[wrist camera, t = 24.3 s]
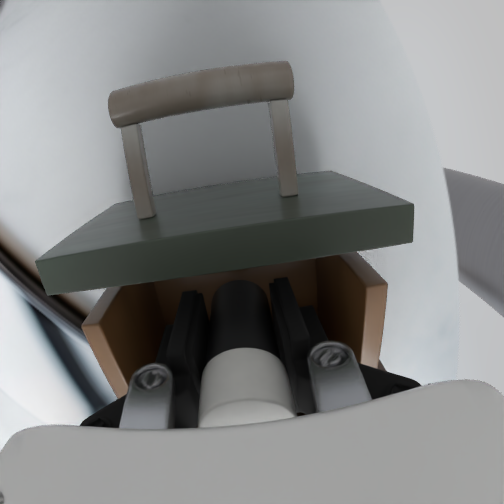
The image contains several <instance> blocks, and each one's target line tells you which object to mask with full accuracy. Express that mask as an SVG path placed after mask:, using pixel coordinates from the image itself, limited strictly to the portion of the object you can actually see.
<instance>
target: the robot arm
mask: <svg viewBox="0 0 504 504" xmlns="http://www.w3.org/2000/svg"><path fill="white" fill-rule="evenodd" d="M269 291H270V299H271V308H272V316H273V325H274V330H275V335H276V339H277V344H278V348H279V353H280V357H281V361H282V363H283V364H284V365H285V367H286V372H287V374H288V378H289V382H290V386H291V391H292V395H293V399H294V404H295V408H296V412H297V413H299V412H302V413H304V414H306V415H303V416H298V417H292V418H286V419H279V420H273V421H266V422H258V423H250V424H241V425H231V426H219V427H205V428H196V427H197V426H198V413H199V400H200V388H201V377H202V372H203V370H204V368H205V366H206V357H207V345H208V334H209V319H208V314H207V310H206V306H205V302H204V297H203V294H202V293H198V292H197V290H192V291H184V292H182V295H181V299H180V302H179V306H178V310H177V313H176V317H175V321H174V324H171V325H166V327H165V330H164V333H163V337H162V340H161V344H160V347H159V350H158V354H157V357H156V361H155V363H151V364H147V365H144V366H142V367H140V368H139V369H137V370H136V371H135V372H134V373H133V374H132V377H131V379H130V383H129V387H128V391H127V394H125V395H124V396H122V397H121V398H119V399H117V400H116V401H114V402H112V403H111V404H109V405H108V406H106V407H104V408H103V409H101V410H99V411H98V412H96V413H94V414H93V415H91V416H89V417H88V418H87V419H85V420H84V421H83V422H82V423H81V425H80V426H74V425H41V426H36V427H31V428H27V429H24V430H21V431H19V432H17V433H15V434H14V435H13V436H12V437H11V438H10V439H9V440H8V441H7V443H6V444H5V446H4V447H3V449H2V450H1V452H0V504H504V396H503V395H502V394H501V393H500V392H499V391H498V390H497V389H495V388H494V387H493V386H491V385H489V384H488V383H485V382H482V381H478V380H467V379H465V380H449V381H443V382H437V383H432V384H428V385H424V386H421V385H420V384H419V383H418V382H417V381H415V380H412V379H410V378H406V377H403V376H400V375H396V374H393V373H390V372H386V371H383V370H380V369H377V368H373V367H370V366H367V365H364V364H361V363H358V362H357V360H356V358H355V356H354V353H353V351H352V349H351V348H350V347H349V346H348V345H347V344H345V343H342V342H340V341H333V340H332V341H329V340H328V338H327V336H326V333H325V331H324V329H323V327H322V324H321V322H320V320H319V318H318V316H317V313H316V311H315V309H314V307H313V305H309V306H303V307H299V306H298V303H297V301H296V298H295V295H294V293H293V290H292V288H291V285H290V282H289V280H288V277H284V278H277V279H274V283H269Z"/></svg>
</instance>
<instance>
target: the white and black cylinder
mask: <svg viewBox="0 0 504 504" xmlns="http://www.w3.org/2000/svg"><path fill="white" fill-rule="evenodd" d="M292 417H297V412H296V408H295V404H294V399H293V395H292V391H291V386H290V382H289V378H288V374H287V372H286V367H285V365H284V364H283V363H282V361H281V357H280V353H279V348H278V344H277V339H276V335H275V330H274V325H273V321H272V316H271V312H270V307H269V303H268V298H267V296H266V294H265V292H264V291H263V289H262V288H261V287H260V286H258V285H257V284H255V283H253V282H251V281H247V280H234V281H230V282H227V283H225V284H224V285H222V286H221V287H219V288H218V289H217V291H216V292H215V293H214V295H213V298H212V303H211V313H210V323H209V334H208V345H207V357H206V366H205V368H204V370H203V372H202V377H201V388H200V400H199V413H198V428H205V427H219V426H231V425H241V424H250V423H258V422H266V421H273V420H279V419H286V418H292Z"/></svg>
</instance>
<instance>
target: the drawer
mask: <svg viewBox="0 0 504 504" xmlns="http://www.w3.org/2000/svg"><path fill="white" fill-rule="evenodd" d="M293 94H294V78H293V72H292V69H291V66H290V64H289V62H287V61H277V62H264V63H252V64H243V65H234V66H227V67H219V68H213V69H206V70H200V71H195V72H189V73H184V74H179V75H174V76H169V77H165V78H160V79H156V80H152V81H148V82H144V83H140V84H136V85H132V86H129V87H125V88H122V89H118V90H115V91H112V92H111V93H110V95H109V98H108V109H109V114H110V118H111V120H112V122H113V124H114V126H115V127H116V128H121V133H122V139H123V145H124V151H125V157H126V163H127V168H128V174H129V179H130V184H131V189H132V194H133V199H134V200H132V201H127V202H122V203H117V204H114V205H113V206H111V207H110V208H108V209H107V210H105V211H104V212H102V213H101V214H99V215H98V216H96V217H95V218H93V219H92V220H90V221H89V222H87V223H86V224H85V225H83V226H82V227H80V228H79V229H77V230H76V231H75V232H73V233H72V234H70V235H69V236H68V237H66V238H65V239H64V240H62V241H61V242H60V243H58V244H57V245H56V246H54V247H53V248H52V249H50V250H49V251H48V252H46V253H45V254H44V255H42V256H41V257H40V258H39V259H37V260H36V261H35V263H36V266H37V269H38V272H39V275H40V277H41V280H42V283H43V285H44V288H45V291H46V293H47V295H54V294H62V293H70V292H78V291H86V290H94V289H102V288H107V289H106V290H105V292H104V293H103V294H102V296H101V297H100V299H99V300H98V302H97V303H96V305H95V306H94V307H93V309H92V310H91V312H90V313H89V315H88V316H87V318H86V319H85V321H84V322H83V324H82V329H83V331H84V334H85V336H86V338H87V340H88V342H89V344H90V347H91V349H92V351H93V353H94V355H95V357H96V359H97V361H98V363H99V365H100V367H101V369H102V371H103V373H104V374H105V376H106V378H107V380H108V382H109V384H110V386H111V387H112V389H113V391H114V393H115V394H116V396H117V398H118V399H119V398H121V397H122V396H124V395H125V394H127V391H128V387H129V383H130V379H131V377H132V374H133V373H134V372H135V371H136V370H137V369H139V368H140V367H142V366H144V365H147V364H151V363H155V361H156V357H157V354H158V350H159V347H160V344H161V340H162V337H163V333H164V330H165V327H166V325H171V324H174V321H175V317H176V313H177V310H178V306H179V302H180V299H181V295H182V292H184V291H192V290H197V292H198V293H202V294H203V297H204V302H205V306H206V310H207V314H208V319H209V323H210V313H211V303H212V298H213V295H214V293H215V292H216V291H217V289H218V288H219V287H221V286H222V285H224V284H225V283H227V282H230V281H234V280H247V281H251V282H253V283H255V284H257V285H258V286H260V287H261V288H262V289H263V291H264V292H265V294H266V296H267V298H268V303H269V307H270V312H271V316H272V308H271V299H270V291H269V283H274V279H277V278H284V277H288V280H289V282H290V285H291V288H292V290H293V293H294V295H295V298H296V301H297V303H298V306H299V307H303V306H309V305H313V307H314V309H315V311H316V313H317V316H318V318H319V320H320V322H321V324H322V327H323V329H324V331H325V333H326V336H327V338H328V340H329V341H332V340H333V341H340V342H342V343H345V344H347V345H348V346H349V347H350V348H351V349H352V351H353V353H354V356H355V358H356V360H357V362H358V363H361V364H364V365H367V366H370V367H373V368H378V362H379V356H380V349H381V342H382V334H383V327H384V318H385V309H386V298H387V287H388V284H387V282H386V281H385V280H384V279H383V278H382V277H381V276H380V275H379V274H378V273H377V272H376V271H375V270H374V269H373V268H372V267H371V266H370V265H369V264H368V263H367V262H366V261H365V260H364V259H363V258H362V257H361V256H360V255H359V254H358V253H357V252H358V251H364V250H370V249H376V248H382V247H388V246H394V245H400V244H406V243H412V242H413V226H414V204H412V203H410V202H408V201H406V200H403V199H401V198H399V197H396V196H394V195H392V194H389V193H387V192H385V191H382V190H380V189H377V188H375V187H372V186H370V185H367V184H365V183H362V182H360V181H357V180H355V179H352V178H349V177H347V176H344V175H341V174H339V173H336V172H333V171H324V172H314V173H304V174H297V173H296V163H295V154H294V145H293V137H292V128H291V120H290V113H289V105H288V100H291V99H292V98H293ZM269 101H270V102H269ZM259 102H269V103H268V107H269V114H270V122H271V130H272V137H273V145H274V154H275V162H276V170H277V177H270V178H262V179H255V180H247V181H240V182H233V183H227V184H220V185H214V186H207V187H201V188H195V189H189V190H184V191H178V192H173V193H167V194H162V195H157V196H153V192H152V187H151V182H150V177H149V171H148V166H147V160H146V154H145V148H144V142H143V135H142V129H141V125H140V124H139V123H143V122H147V121H152V120H156V119H161V118H165V117H170V116H175V115H180V114H185V113H190V112H196V111H201V110H207V109H214V108H220V107H227V106H234V105H242V104H250V103H259ZM272 321H273V316H272ZM303 415H306V414H304V413H302V412H299V413H297V417H298V416H303ZM196 428H198V426H197V427H196Z"/></svg>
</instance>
